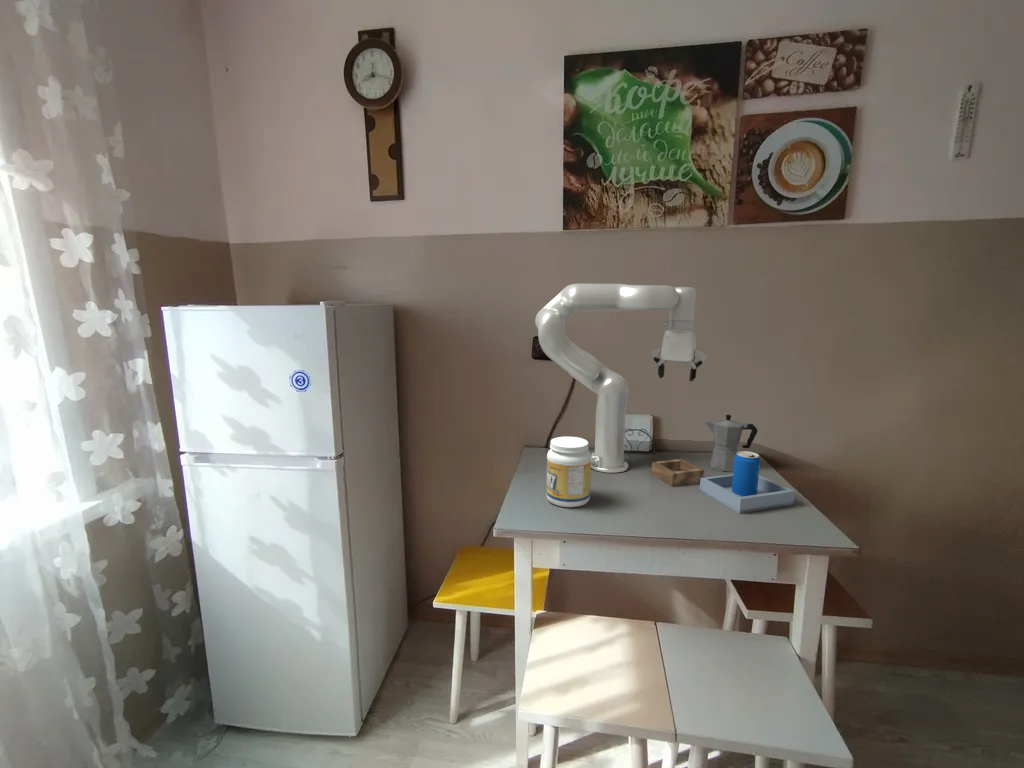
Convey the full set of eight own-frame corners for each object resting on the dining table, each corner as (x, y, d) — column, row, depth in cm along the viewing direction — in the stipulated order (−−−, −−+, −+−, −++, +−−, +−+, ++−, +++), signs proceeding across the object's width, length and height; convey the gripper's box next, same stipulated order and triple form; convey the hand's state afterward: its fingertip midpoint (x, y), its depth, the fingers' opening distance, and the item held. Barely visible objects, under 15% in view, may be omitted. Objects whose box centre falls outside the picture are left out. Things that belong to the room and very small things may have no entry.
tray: (739, 513, 132) (740, 499, 131) (699, 491, 147) (700, 478, 146) (793, 505, 137) (795, 491, 136) (749, 484, 152) (750, 471, 151)
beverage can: (752, 501, 137) (756, 459, 135) (728, 495, 142) (731, 454, 139) (759, 494, 142) (763, 453, 140) (735, 488, 146) (739, 449, 144)
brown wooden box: (672, 486, 150) (672, 473, 150) (651, 474, 161) (651, 462, 160) (703, 482, 154) (703, 470, 153) (680, 470, 164) (681, 458, 163)
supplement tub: (539, 495, 144) (539, 437, 141) (577, 489, 149) (578, 433, 146) (558, 511, 133) (559, 450, 130) (598, 504, 137) (600, 445, 134)
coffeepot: (702, 469, 165) (706, 415, 162) (703, 460, 174) (707, 409, 171) (754, 475, 159) (759, 420, 156) (753, 466, 168) (757, 414, 165)
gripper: (650, 325, 162) (646, 377, 165) (706, 328, 154) (701, 383, 156) (656, 324, 169) (653, 375, 172) (711, 327, 160) (706, 380, 163)
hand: (676, 379), depth 164 cm, fingers open, 9 cm apart
